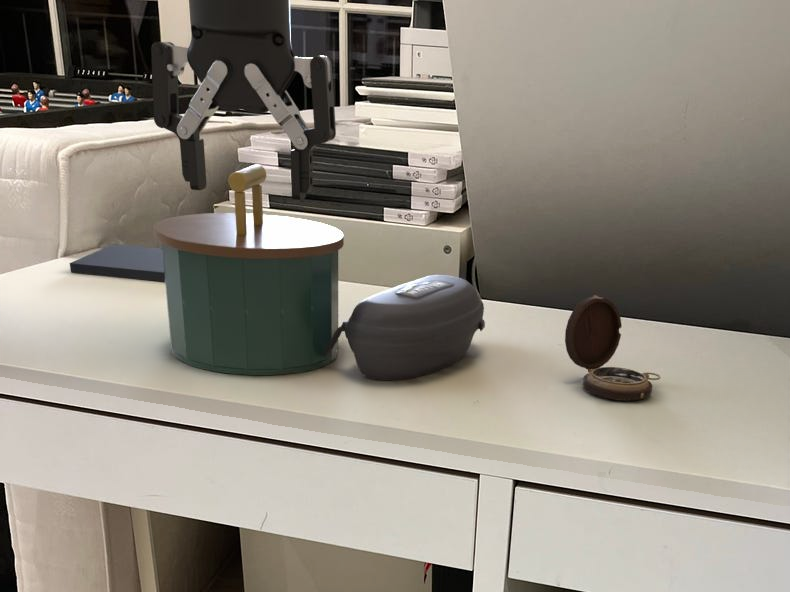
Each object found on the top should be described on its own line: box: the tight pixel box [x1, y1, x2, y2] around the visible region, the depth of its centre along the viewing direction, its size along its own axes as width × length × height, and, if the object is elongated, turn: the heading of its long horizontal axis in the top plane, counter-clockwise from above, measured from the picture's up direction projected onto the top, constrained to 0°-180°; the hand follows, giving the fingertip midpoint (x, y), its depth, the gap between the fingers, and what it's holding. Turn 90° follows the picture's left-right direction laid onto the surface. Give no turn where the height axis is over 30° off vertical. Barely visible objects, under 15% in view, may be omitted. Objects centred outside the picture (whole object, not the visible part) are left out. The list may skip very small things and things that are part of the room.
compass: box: [564, 295, 661, 401], centre depth 86 cm, size 8×8×7 cm
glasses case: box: [324, 274, 486, 381], centre depth 88 cm, size 18×10×8 cm, turn 154°
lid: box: [152, 163, 345, 259], centre depth 82 cm, size 16×16×6 cm
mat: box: [69, 243, 165, 283], centre depth 113 cm, size 12×12×1 cm
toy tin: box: [161, 243, 339, 376], centre depth 86 cm, size 15×15×10 cm
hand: (249, 193), depth 82 cm, fingers open, 8 cm apart
